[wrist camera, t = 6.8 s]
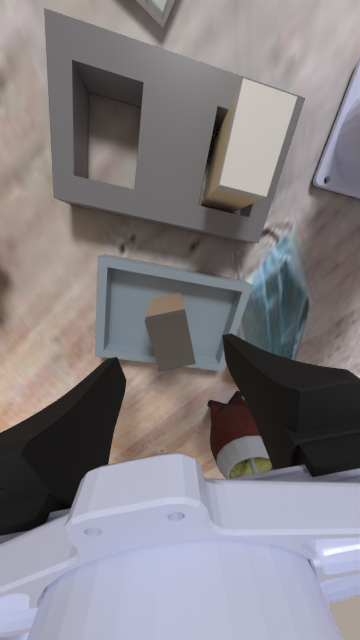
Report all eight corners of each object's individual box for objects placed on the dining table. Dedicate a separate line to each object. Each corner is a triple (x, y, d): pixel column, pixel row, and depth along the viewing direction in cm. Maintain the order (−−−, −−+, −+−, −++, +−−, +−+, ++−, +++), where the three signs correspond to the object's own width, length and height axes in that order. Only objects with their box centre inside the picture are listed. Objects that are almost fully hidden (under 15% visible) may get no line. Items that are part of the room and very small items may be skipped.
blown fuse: (180, 292, 19) (185, 312, 13) (188, 331, 20) (195, 363, 15) (151, 298, 19) (144, 321, 13) (161, 336, 20) (159, 371, 15)
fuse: (249, 150, 15) (297, 96, 10) (233, 212, 17) (266, 196, 11) (214, 140, 15) (243, 78, 9) (201, 204, 16) (219, 184, 11)
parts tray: (244, 281, 19) (253, 285, 17) (219, 361, 23) (223, 371, 21) (105, 254, 17) (97, 255, 16) (101, 346, 21) (95, 356, 19)
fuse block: (283, 121, 15) (305, 98, 12) (246, 243, 18) (258, 243, 16) (66, 51, 12) (44, 8, 10) (70, 204, 16) (53, 197, 13)
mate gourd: (236, 429, 28) (305, 613, 14) (189, 416, 26) (214, 610, 12) (264, 393, 25) (380, 572, 12) (214, 377, 24) (279, 562, 10)
